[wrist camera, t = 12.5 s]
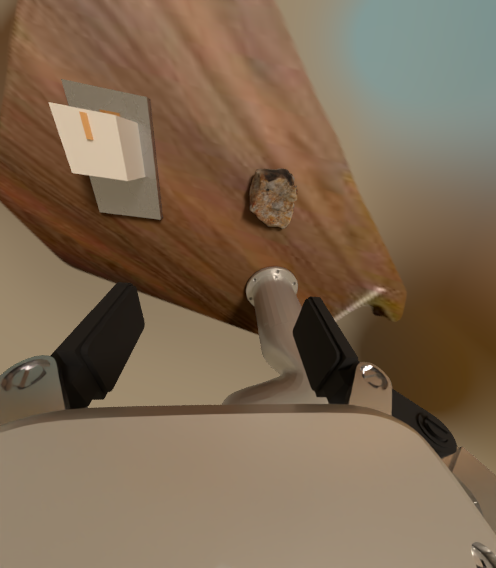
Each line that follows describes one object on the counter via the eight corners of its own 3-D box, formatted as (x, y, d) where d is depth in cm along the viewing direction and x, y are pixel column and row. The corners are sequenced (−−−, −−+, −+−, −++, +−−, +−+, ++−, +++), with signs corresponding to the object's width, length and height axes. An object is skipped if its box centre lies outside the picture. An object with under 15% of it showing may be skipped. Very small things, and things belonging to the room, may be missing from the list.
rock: (244, 170, 31) (248, 231, 35) (257, 163, 26) (259, 235, 30) (290, 170, 34) (288, 227, 38) (309, 163, 28) (305, 230, 32)
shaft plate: (162, 217, 34) (155, 224, 31) (103, 210, 33) (88, 216, 29) (150, 99, 25) (137, 90, 22) (68, 82, 24) (40, 69, 20)
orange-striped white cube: (145, 176, 29) (127, 181, 24) (99, 170, 28) (70, 173, 23) (137, 123, 26) (114, 114, 21) (84, 112, 25) (46, 101, 20)
